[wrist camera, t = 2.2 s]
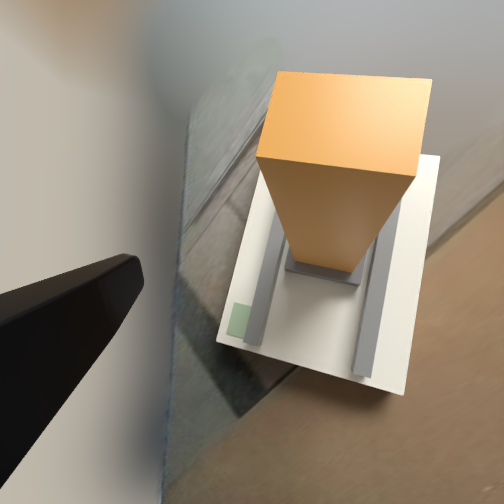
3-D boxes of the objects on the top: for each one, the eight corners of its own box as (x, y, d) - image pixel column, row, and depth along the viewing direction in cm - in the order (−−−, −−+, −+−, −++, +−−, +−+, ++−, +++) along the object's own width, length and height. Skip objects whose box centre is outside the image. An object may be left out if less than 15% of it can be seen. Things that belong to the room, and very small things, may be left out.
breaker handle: (358, 286, 17) (443, 206, 5) (285, 271, 18) (226, 175, 6) (368, 234, 17) (464, 57, 6) (297, 221, 18) (261, 50, 7)
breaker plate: (393, 387, 17) (410, 401, 14) (225, 339, 20) (208, 342, 17) (428, 172, 19) (448, 144, 16) (273, 153, 22) (265, 126, 19)
